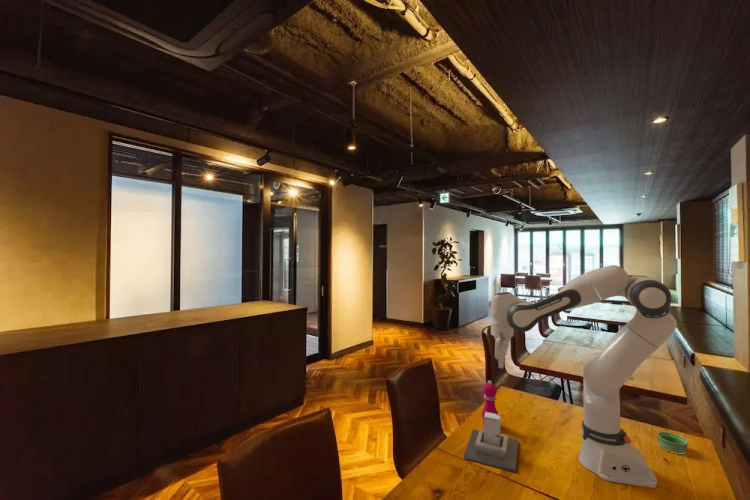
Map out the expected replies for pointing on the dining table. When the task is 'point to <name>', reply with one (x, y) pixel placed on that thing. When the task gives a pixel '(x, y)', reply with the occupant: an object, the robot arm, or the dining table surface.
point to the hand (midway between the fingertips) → (502, 364)
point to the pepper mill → (489, 399)
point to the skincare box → (492, 429)
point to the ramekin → (672, 442)
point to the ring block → (492, 451)
